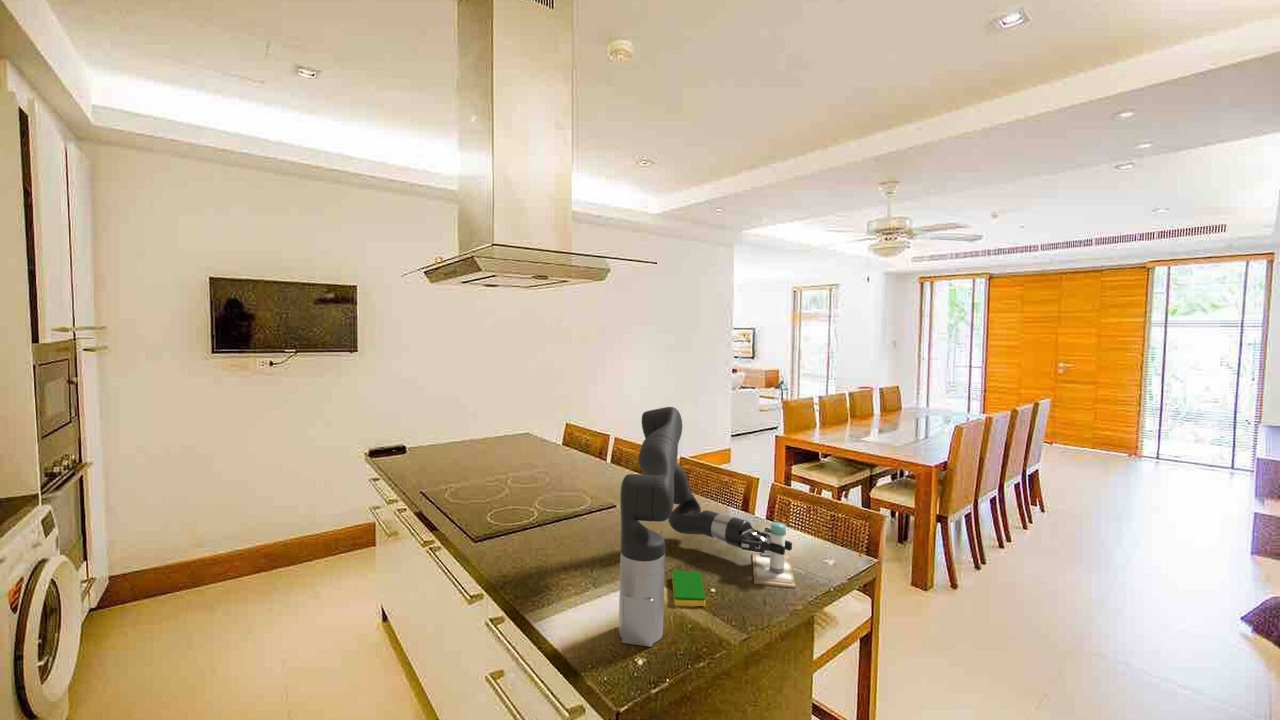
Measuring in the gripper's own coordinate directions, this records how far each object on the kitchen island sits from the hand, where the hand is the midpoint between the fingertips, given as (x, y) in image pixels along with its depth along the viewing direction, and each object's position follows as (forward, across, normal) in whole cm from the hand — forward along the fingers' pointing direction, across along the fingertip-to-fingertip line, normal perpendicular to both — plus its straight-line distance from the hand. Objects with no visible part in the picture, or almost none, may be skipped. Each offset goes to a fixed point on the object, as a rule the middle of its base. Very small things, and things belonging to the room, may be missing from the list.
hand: (787, 548), depth 136 cm
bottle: (-3, 0, +6) cm, 7 cm away
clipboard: (-5, +1, +8) cm, 9 cm away
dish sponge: (-14, -24, +8) cm, 29 cm away
